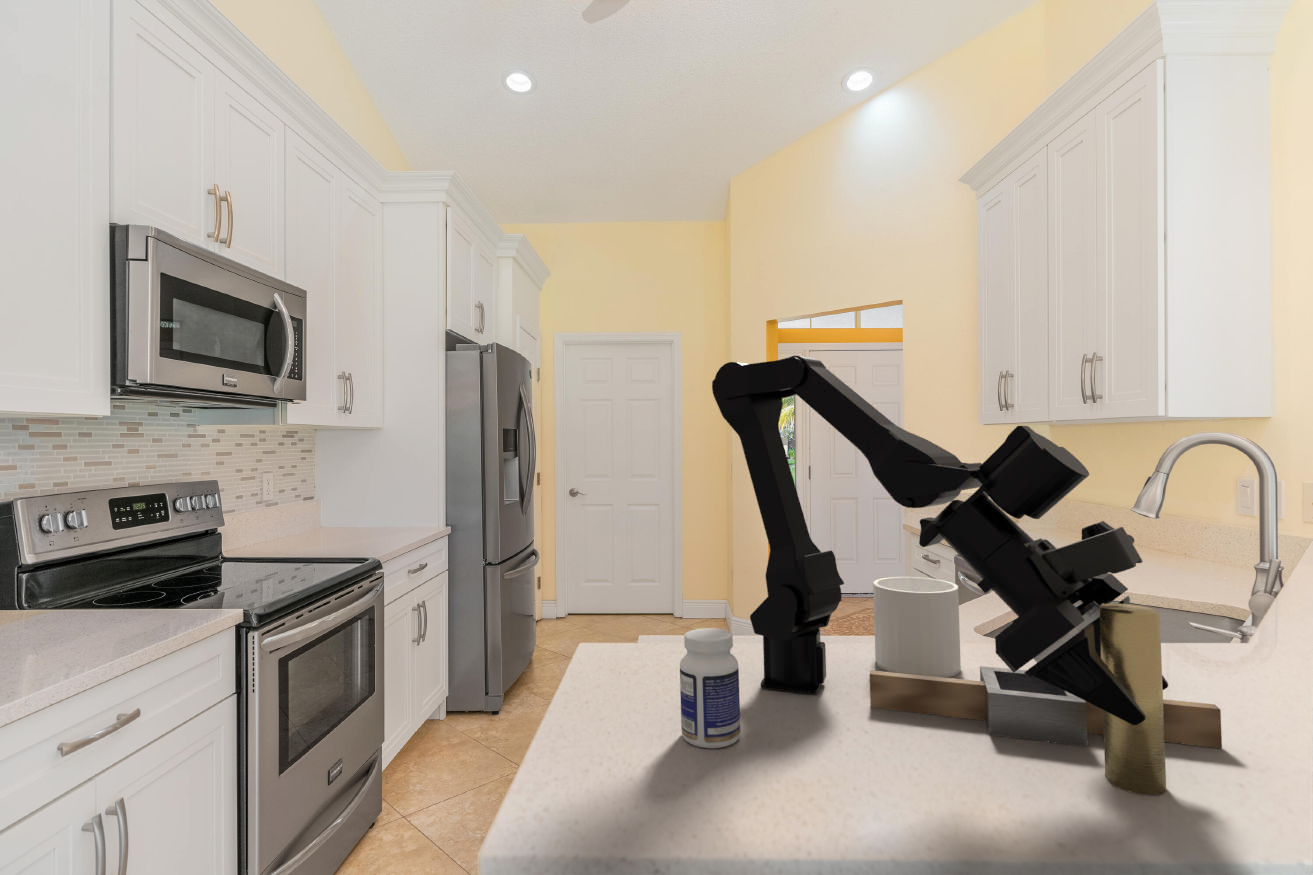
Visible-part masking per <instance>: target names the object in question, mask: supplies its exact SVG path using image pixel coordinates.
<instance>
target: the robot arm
mask: <svg viewBox="0 0 1313 875" xmlns="http://www.w3.org/2000/svg"><path fill="white" fill-rule="evenodd" d="M711 384H712V385H711V390H712V394H713V398H714V400H715V403H716V405H717V407H718V410H719V411H720V414H721V416H722V418H723V419H724V420H725V421H726V422H727V423H728V425H729V426H730V427H731V429H732V430H734V432H735V433H736V434H737V435H738V437H739V440H740V443H741V447H742V451H743V453H744V454H743V455H744V458H745V462H746V466H747V469H748V472H749V473H748V474H749V476H750V480H751V484H752V487H753V491H754V494H755V498H756V501H757V502H756V503H757V506H758V509H759V513H760V517H761V520H762V523H763V527H764V530H765V535H766V538H767V542H768V547H769V555H768V560H767V566H766V571H765V576H764V577H765V585H766V591H767V597H766V598H765V599H764V600H763V601H762V602H761V603H760V605H758V607H757V608H755V610H753V611H752V613H751V614H750V616H749V619H750V622H751V626H752V630H753V632H754V634H755V635H758V636H762V642H763V643H762V644H763V646H762V649H763V678H762V680H761V682H760V688H762V689H769V690H777V691H786V692H792V693H793V692H794V693H803V694H813V695H817V694H818V693H819V691H820V688H821V685H823V684H824V683H825V681H826V678H827V656H826V655H827V654H826V651H827V650H826V643H825V641H821V628H825V627H828V626H829V624H830V620H831V619H830V618H831V616H832V614H833V613H834V612H835V611H837V609H838V606H839V605H840V602H841V601H842V596H843V595H842V589H841V586H843V585H845V581H844V580H843V578H842V577H841V576H840V573H839V571H838V567H837V566H838V565H837V560H836V556H835V553H834V552H833V550H832V549H831V550H830V549H829V550H826V551H821V550H820V549H819V548H818V546H817V545H816V544H815V542H813V540H812V538H811V536H810V535H811V534H810V533H809V530H808V526H807V523H806V519H805V516H804V512H803V509H802V505H801V502H800V498H799V494H798V491H797V488H796V484H795V480H794V477H793V474H792V471H791V467H790V464H789V459H788V457H787V452H786V450H785V446H784V443H783V439H782V436H781V433H780V427H779V423H780V420H781V415H782V410H783V399H787V398H791V397H795V396H798V397H799V398H800V399H801V400H802V401H803V402H804V403H806V404H807V405H808V406H809V407H810V408H811V409H812V410H814V411H815V413H817V414H818V415H820V417H822V419H824V420H825V421H826V422H827V423H829V425H830V426H832V427H833V428H834V429H835V430H837V432H839V433H840V434H841V435H842V436H843V437H844V438H846V439H847V440H848V441H849V442H850V444H852V445H853V446H854V447H855V448H857V449H858V450H859V451H860V452H861V454H862V455H863V456H864V458H866V460H867V461H868V463H869V466H870V468H871V472H872V473H873V476H875V478H876V479H877V480H878V482H879V483H880V484H881V486H882V487H883V488H884V489H885V491H886V492H887V493H888V495H889V496H890V497H891V498H892V500H894V501H895V502H896V503H897V504H899V505H900V506H902V507H905V508H907V509H922V508H929V507H934V506H939V505H940V506H941V505H945V504H948V503H949V504H948V505H946V506H945V508H943V510H942V511H941V512H939V513H938V515H936V517H931V516H930V517H925V518H921V519H920V520H919V525H920V532H919V542H918V544H919V546H920V547H921V548H925V547H930V546H934V545H938V544H940V543H941V542H942V541H943V540H944V541H945V542H946V543H947V544H948V545H949V546H950V548H952V549H953V550H954V551H955V553H957V555H959V557H960V558H962V560H963V561H964V562H965V563H966V564H967V565H968V566H969V567H970V568H971V569H972V570H973V571H974V572H975V573H976V574H977V576H979V577H980V579H981V580H980V581H979V582H978V583H977V584H976V585H977V587H979V589H981V591H982V592H983V593H984V594H987V593H990V592H992V591H993V592H994V593H995V594H996V595H997V596H998V598H1000V599H1001V600H1002V602H1004V603H1005V605H1007V607H1008V608H1010V610H1011V611H1012V612H1013V613H1014V614H1015V615H1016V616H1017V618H1015V619H1013V621H1012V623H1011V624H1010V625H1008V626H1007V627H1006V628H1004V629H1003V630H1002V631H1000V632H999V633H998V634H997V635H996V636H995V637H994V641H995V654H996V655H997V656H998V657H999V658H1000V660H1001V661H1003V663H1005V665H1006V666H1007V667H1008V669H1011V670H1012V671H1013V673H1014V672H1015V671H1017V670H1021V668H1022V667H1024V666H1025V665H1027V664H1028V663H1029V662H1030V661H1032V660H1034V661H1035V662H1036V663H1035V664H1033V665H1032V666H1031V667H1029V668H1028V669H1027V671H1025V672H1024V673H1025V674H1026V675H1027V676H1028V677H1031V676H1034V677H1036V678H1038V679H1040V680H1043V681H1045V682H1047V683H1049V684H1051V685H1053V686H1056V687H1058V688H1060V689H1062V690H1064V691H1066V692H1068V693H1071V694H1073V695H1075V696H1077V697H1079V698H1081V699H1083V700H1085V701H1087V702H1089V703H1091V704H1093V705H1094V706H1096V707H1098V708H1100V709H1102V710H1104V711H1106V712H1108V713H1110V714H1112V715H1114V716H1116V717H1118V718H1120V719H1122V720H1124V721H1126V722H1128V723H1130V724H1132V725H1138V724H1140V723H1141V722H1143V721H1144V720H1145V719H1146V715H1145V714H1144V713H1143V711H1142V710H1141V709H1140V707H1139V706H1138V705H1137V703H1136V702H1135V700H1134V699H1133V698H1132V697H1131V695H1130V694H1129V693H1128V692H1127V690H1126V689H1125V688H1124V687H1123V685H1122V684H1121V683H1120V682H1119V680H1118V679H1117V678H1116V677H1115V675H1114V674H1113V673H1112V672H1111V670H1110V669H1109V668H1108V667H1107V665H1106V664H1105V663H1104V662H1103V660H1102V659H1101V643H1100V615H1099V606H1100V605H1103V604H1115V603H1114V602H1113V601H1115V600H1116V599H1117V598H1119V597H1120V596H1121V595H1123V594H1124V593H1125V592H1127V591H1129V588H1127V587H1126V586H1125V585H1124V584H1123V582H1121V581H1120V580H1119V579H1118V578H1117V577H1116V576H1115V574H1118V573H1122V572H1125V571H1127V570H1131V569H1134V568H1135V567H1136V566H1137V564H1142V563H1143V559H1142V558H1141V556H1140V554H1139V552H1138V551H1137V549H1136V547H1135V545H1134V543H1135V538H1134V536H1132V535H1131V534H1128V533H1127V531H1126V529H1125V528H1124V527H1123V526H1120V527H1117V528H1114V527H1112V525H1110V524H1108V523H1107V522H1106V521H1104V520H1102V521H1099V522H1097V523H1093V524H1091V525H1087V526H1085V527H1081V539H1080V540H1077V541H1075V542H1072V543H1069V544H1067V545H1064V546H1061V547H1056V546H1055V545H1054V544H1053V543H1052V542H1050V541H1049V540H1048V539H1045V538H1044V539H1043V538H1038V539H1035V540H1034V539H1033V538H1032V537H1031V536H1030V535H1029V534H1028V533H1027V532H1025V530H1023V528H1021V527H1020V526H1019V525H1018V524H1017V523H1016V522H1015V521H1014V520H1013V519H1012V518H1015V519H1017V520H1021V519H1022V518H1023V517H1025V516H1027V517H1028V518H1030V519H1035V520H1040V519H1041V518H1042V517H1044V516H1045V514H1047V513H1048V512H1049V511H1050V510H1051V509H1053V508H1054V507H1055V506H1056V505H1057V504H1058V503H1059V502H1060V501H1062V500H1063V499H1064V498H1065V497H1066V496H1067V495H1068V494H1070V493H1071V492H1072V491H1073V490H1074V489H1075V488H1076V487H1078V486H1079V485H1080V484H1081V483H1082V482H1083V481H1084V480H1086V479H1087V478H1088V477H1089V475H1090V472H1089V471H1088V469H1087V467H1086V466H1085V465H1084V464H1083V463H1082V462H1081V461H1080V460H1079V459H1078V458H1077V457H1076V456H1075V455H1073V454H1072V453H1071V452H1070V451H1069V450H1067V448H1065V447H1063V446H1059V445H1057V444H1056V443H1055V442H1053V441H1051V440H1050V439H1048V438H1047V437H1045V436H1043V435H1042V434H1039V433H1037V432H1036V431H1034V430H1033V429H1032V428H1031V427H1030V426H1028V425H1017V426H1016V427H1015V428H1014V429H1013V430H1012V431H1011V432H1010V433H1009V434H1007V437H1006V438H1005V440H1004V442H1003V443H1002V444H1001V445H1000V446H999V447H998V448H997V449H996V450H995V451H994V452H993V453H992V454H990V456H988V457H987V459H986V460H985V461H983V463H982V462H974V463H973V462H972V463H970V462H969V463H967V462H962V460H960V459H959V458H958V457H957V456H956V455H955V454H954V453H952V452H950V451H949V450H947V449H945V448H943V447H941V446H939V445H937V444H936V443H934V442H932V441H930V440H928V439H926V438H924V437H922V436H919V435H917V434H915V433H912V432H910V431H907V430H906V429H904V428H902V427H900V426H898V425H896V424H895V423H894V422H893V421H891V420H890V419H889V418H887V416H885V415H884V414H883V413H882V412H880V411H879V410H878V409H876V408H875V407H874V406H873V405H872V404H870V403H869V402H868V401H867V400H866V399H864V398H863V397H862V396H861V395H860V394H858V393H857V392H856V391H855V390H854V389H852V387H850V386H849V385H847V384H846V383H845V382H844V381H842V380H841V379H840V378H839V377H838V376H836V375H835V374H834V373H833V372H831V370H829V369H827V367H826V366H825V364H823V361H821V360H820V359H817V358H814V357H809V356H802V355H791V356H789V357H786V358H781V359H778V360H771V361H770V360H769V361H761V362H754V363H746V362H745V363H744V362H737V361H736V362H735V361H729V362H726V363H724V364H723V365H722V366H721V367H719V369H718V371H717V372H716V373H715V377H714V379H713V380H712V381H711ZM976 488H977V489H976ZM972 489H976V491H974V493H972V495H970V496H969V497H968V498H967V499H965V501H963V500H960V499H956V498H957V497H959V496H960V494H961V492H962V491H964V490H972ZM1008 515H1009V516H1008ZM1011 517H1012V518H1011ZM1113 574H1114V575H1113ZM1130 603H1131V598H1130V596H1129V595H1127V596H1126V597H1124V598H1123V599H1121V600H1120V601H1119V602H1117V604H1130ZM1162 686H1163V691H1164V690H1166V689H1167V688H1168V687H1169V682H1168V681H1167V680H1166V678H1165V676H1164V675H1163V674H1162Z"/></svg>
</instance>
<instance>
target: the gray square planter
mask: <svg viewBox="0 0 1313 875" xmlns="http://www.w3.org/2000/svg"><path fill="white" fill-rule="evenodd" d="M1027 670H1028V669H1027ZM1027 670H1026V669H1018V670H1017V671H1015V672H1014V673H1013V671H1012V670H1011V669H1010V668H1005V667H994V666H984V665H983V666H982V665H980V666H979V678H980V679H979V681H983V682H984V685H985V717H986V721H985V723H986V727H987V731H988V734H989V735H990V736H996V737H1006V738H1012V739H1013V738H1014V739H1020V738H1022V740H1028V739H1029V741H1036V740H1038V741H1039V740H1040V741H1039V742H1044V741H1049V742H1048V743H1052V742H1056V743H1055V744H1059V745H1060V744H1061V745H1062V744H1063V745H1070V746H1077V747H1078V746H1079V747H1086V748H1088V746H1089V745H1088V733H1087V714H1086V702H1085V700H1083V699H1081V698H1079V697H1077V696H1075V695H1073V694H1071V693H1068V692H1066V691H1064V690H1062V689H1060V688H1058V687H1056V686H1053V685H1051V684H1049V683H1047V682H1045V681H1043V680H1040V679H1038V678H1036V677H1034V676H1031V677H1028V676H1027V675H1026V674H1025V673H1024V672H1025V671H1027Z"/></svg>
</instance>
